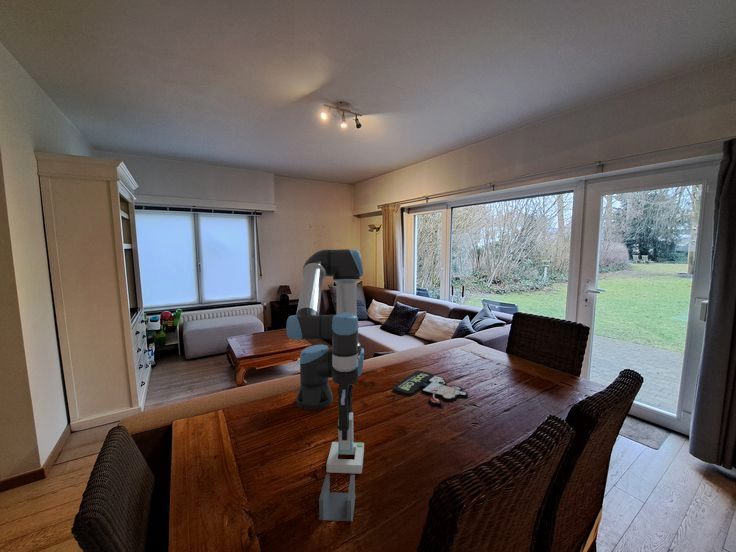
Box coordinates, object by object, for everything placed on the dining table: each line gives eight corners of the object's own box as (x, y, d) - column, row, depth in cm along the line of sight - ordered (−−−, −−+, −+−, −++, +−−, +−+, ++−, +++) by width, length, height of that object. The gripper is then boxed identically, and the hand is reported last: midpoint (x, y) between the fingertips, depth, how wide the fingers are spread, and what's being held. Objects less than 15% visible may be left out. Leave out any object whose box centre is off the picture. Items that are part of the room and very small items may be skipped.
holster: (318, 521, 69) (318, 499, 69) (325, 494, 77) (324, 473, 77) (352, 523, 69) (352, 500, 68) (355, 495, 77) (355, 475, 76)
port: (326, 474, 84) (326, 463, 84) (332, 450, 94) (332, 440, 94) (361, 475, 84) (361, 464, 83) (364, 451, 94) (363, 441, 93)
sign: (417, 370, 156) (475, 385, 138) (417, 373, 156) (475, 389, 138) (389, 388, 135) (453, 409, 116) (389, 392, 135) (453, 413, 117)
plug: (338, 452, 87) (338, 419, 86) (340, 443, 91) (340, 412, 90) (352, 453, 86) (351, 419, 86) (353, 444, 90) (353, 412, 90)
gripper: (355, 379, 78) (355, 464, 80) (360, 357, 95) (360, 427, 97) (327, 379, 78) (328, 463, 80) (337, 356, 95) (338, 426, 97)
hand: (346, 443), depth 88 cm, fingers closed on plug, 4 cm apart
